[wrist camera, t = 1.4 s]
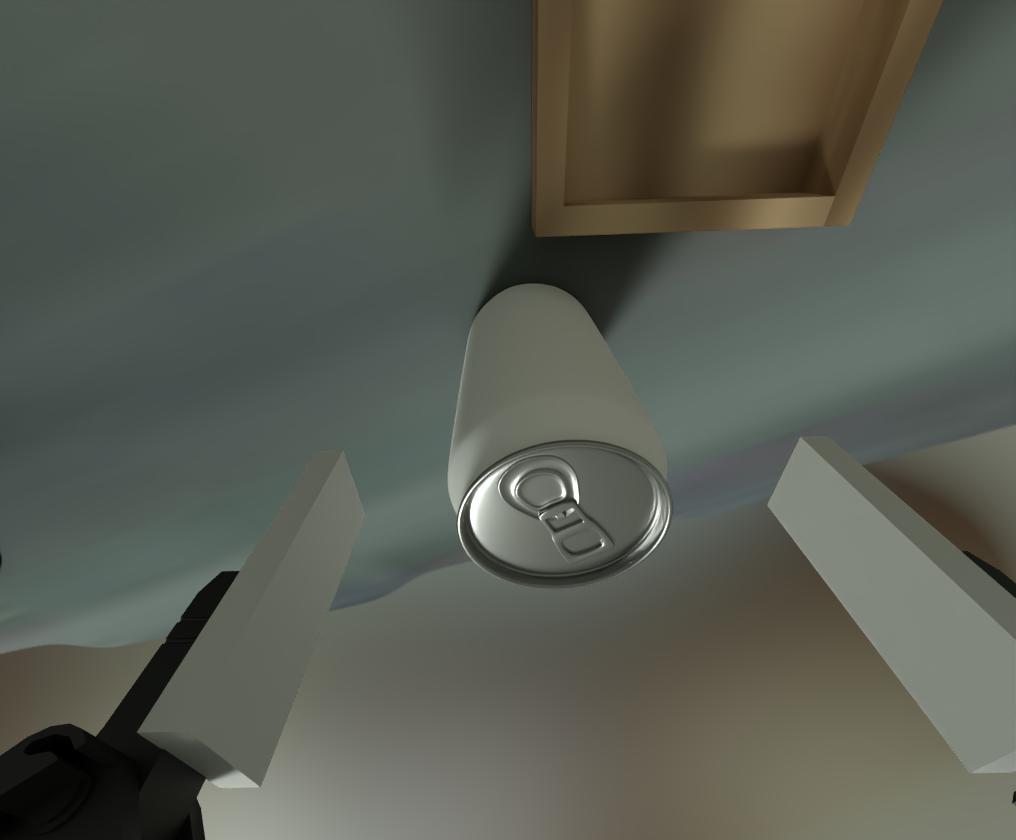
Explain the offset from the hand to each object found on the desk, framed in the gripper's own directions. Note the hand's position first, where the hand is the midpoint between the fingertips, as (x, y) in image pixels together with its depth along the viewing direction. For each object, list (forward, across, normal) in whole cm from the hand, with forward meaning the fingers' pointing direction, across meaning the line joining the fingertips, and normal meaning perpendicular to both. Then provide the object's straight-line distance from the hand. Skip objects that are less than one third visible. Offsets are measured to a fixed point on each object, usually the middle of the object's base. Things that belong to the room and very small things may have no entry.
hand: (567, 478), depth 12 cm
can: (+10, 0, 0) cm, 10 cm away
